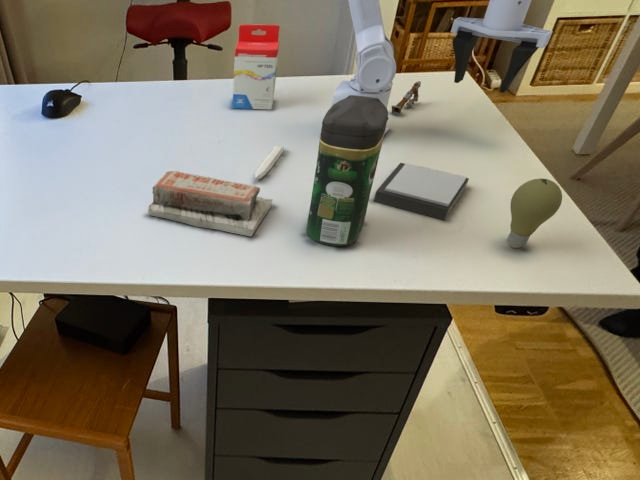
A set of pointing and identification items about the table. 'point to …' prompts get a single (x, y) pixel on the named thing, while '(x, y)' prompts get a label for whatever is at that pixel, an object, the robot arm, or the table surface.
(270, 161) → the pen
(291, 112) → the table surface
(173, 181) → the packaged product
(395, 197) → the scale
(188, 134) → the table surface
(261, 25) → the ink box
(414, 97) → the wooden post with brackets
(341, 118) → the coffee jar
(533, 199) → the light bulb
